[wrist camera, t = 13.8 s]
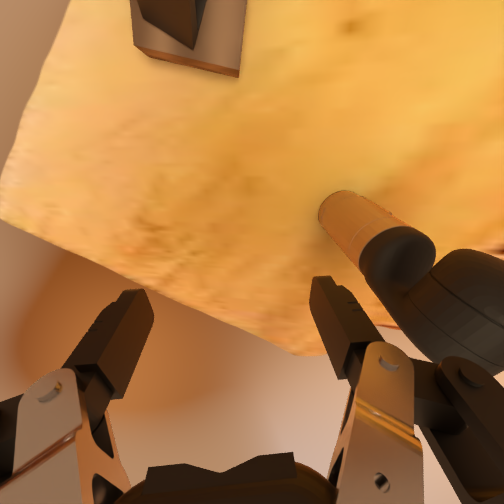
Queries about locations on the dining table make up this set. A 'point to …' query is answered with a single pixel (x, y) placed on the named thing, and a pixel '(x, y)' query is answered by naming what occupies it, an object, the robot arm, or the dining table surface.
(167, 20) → the phone stand
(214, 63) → the walnut block
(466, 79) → the dining table surface
